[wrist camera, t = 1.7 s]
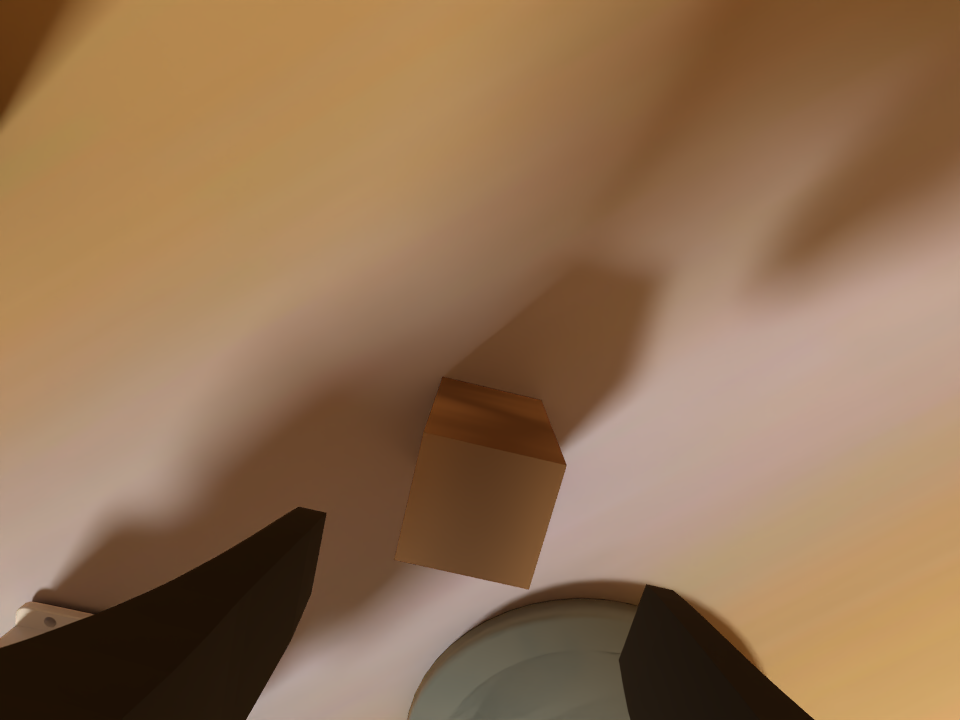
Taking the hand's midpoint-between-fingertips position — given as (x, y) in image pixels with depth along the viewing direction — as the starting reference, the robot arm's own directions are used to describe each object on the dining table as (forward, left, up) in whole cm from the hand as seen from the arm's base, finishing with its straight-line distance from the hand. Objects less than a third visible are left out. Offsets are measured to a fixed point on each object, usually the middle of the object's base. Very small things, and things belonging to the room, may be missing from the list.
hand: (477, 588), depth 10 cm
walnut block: (0, 0, -9) cm, 9 cm away
